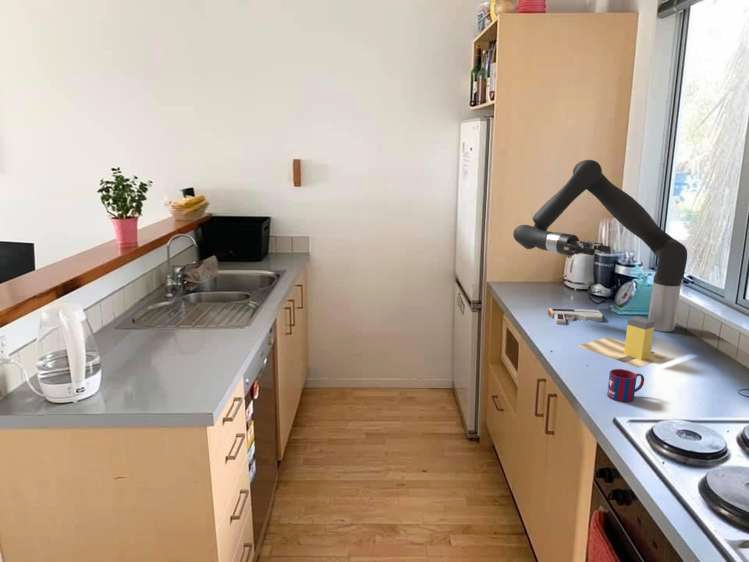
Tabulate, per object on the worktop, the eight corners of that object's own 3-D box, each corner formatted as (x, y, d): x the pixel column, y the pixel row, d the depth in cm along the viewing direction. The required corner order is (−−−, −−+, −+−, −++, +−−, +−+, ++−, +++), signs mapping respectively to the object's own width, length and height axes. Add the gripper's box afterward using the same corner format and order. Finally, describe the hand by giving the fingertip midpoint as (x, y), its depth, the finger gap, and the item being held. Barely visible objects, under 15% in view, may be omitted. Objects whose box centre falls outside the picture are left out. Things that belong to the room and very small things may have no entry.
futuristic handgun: (610, 321, 220) (598, 309, 234) (556, 319, 221) (547, 307, 236) (609, 328, 221) (597, 315, 235) (555, 326, 222) (547, 314, 236)
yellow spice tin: (632, 351, 191) (637, 316, 188) (649, 357, 187) (655, 321, 184) (623, 354, 189) (628, 318, 186) (640, 360, 184) (646, 323, 181)
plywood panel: (607, 340, 205) (607, 337, 205) (668, 360, 188) (668, 356, 187) (576, 349, 196) (576, 345, 195) (637, 370, 178) (638, 367, 178)
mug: (602, 392, 162) (605, 369, 161) (636, 391, 164) (639, 368, 162) (615, 402, 156) (618, 379, 154) (650, 401, 157) (653, 377, 156)
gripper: (549, 234, 204) (590, 241, 191) (575, 231, 212) (616, 238, 199) (548, 255, 206) (587, 264, 193) (573, 252, 214) (613, 260, 201)
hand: (602, 251), depth 196 cm, fingers open, 8 cm apart
